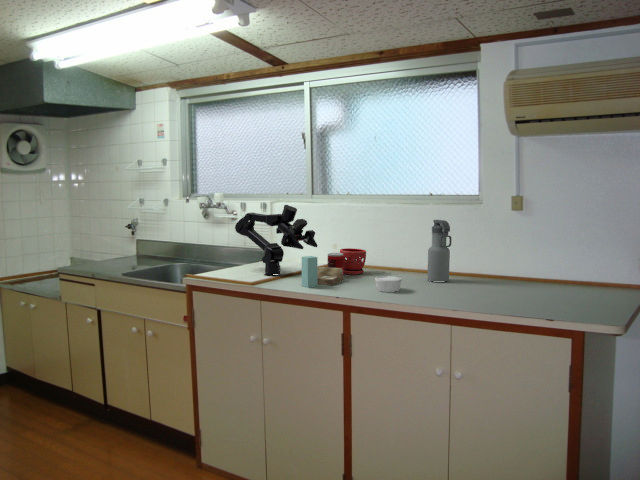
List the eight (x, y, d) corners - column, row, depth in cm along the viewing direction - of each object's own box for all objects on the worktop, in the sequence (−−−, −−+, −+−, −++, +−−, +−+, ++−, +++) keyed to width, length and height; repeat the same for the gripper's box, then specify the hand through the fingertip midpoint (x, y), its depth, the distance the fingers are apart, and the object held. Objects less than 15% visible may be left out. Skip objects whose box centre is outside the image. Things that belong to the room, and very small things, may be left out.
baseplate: (304, 283, 241) (304, 277, 240) (316, 277, 254) (316, 272, 253) (333, 285, 235) (333, 279, 235) (344, 280, 248) (344, 274, 248)
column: (301, 286, 235) (301, 256, 233) (311, 284, 237) (311, 255, 236) (307, 288, 230) (307, 258, 229) (317, 286, 233) (317, 257, 232)
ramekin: (386, 286, 233) (386, 274, 233) (406, 290, 226) (407, 278, 225) (369, 290, 226) (369, 278, 225) (390, 294, 218) (390, 281, 217)
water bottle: (454, 281, 244) (455, 220, 241) (436, 283, 240) (438, 221, 236) (439, 278, 253) (441, 219, 250) (423, 279, 249) (424, 219, 245)
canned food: (343, 275, 261) (344, 252, 260) (343, 278, 254) (343, 255, 252) (328, 274, 262) (328, 252, 261) (326, 277, 254) (326, 254, 253)
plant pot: (348, 276, 257) (349, 252, 256) (334, 272, 269) (334, 248, 267) (371, 274, 264) (371, 250, 262) (356, 270, 275) (356, 247, 274)
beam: (315, 274, 250) (315, 267, 249) (317, 272, 253) (317, 266, 252) (339, 275, 245) (339, 269, 245) (341, 274, 248) (341, 268, 248)
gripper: (279, 216, 241) (301, 233, 233) (307, 214, 255) (329, 230, 246) (272, 237, 246) (293, 255, 237) (300, 234, 259) (321, 251, 251)
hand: (310, 247), depth 243 cm, fingers open, 9 cm apart
